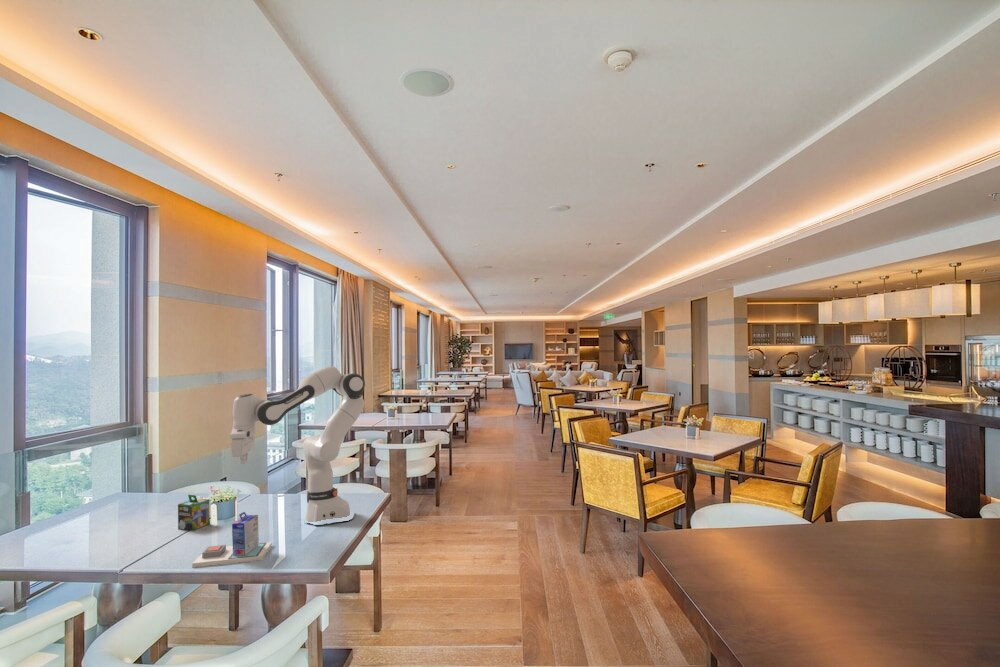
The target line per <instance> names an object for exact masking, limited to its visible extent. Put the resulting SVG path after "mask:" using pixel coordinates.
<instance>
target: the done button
mask: <svg viewBox="0 0 1000 667" xmlns="http://www.w3.org/2000/svg"><path fill="white" fill-rule="evenodd" d="M212 546H213V547H210V548H209V549H208V550H207V552H209V551H219V550H220V549H221V548H222V546H219V545H212Z"/></svg>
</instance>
